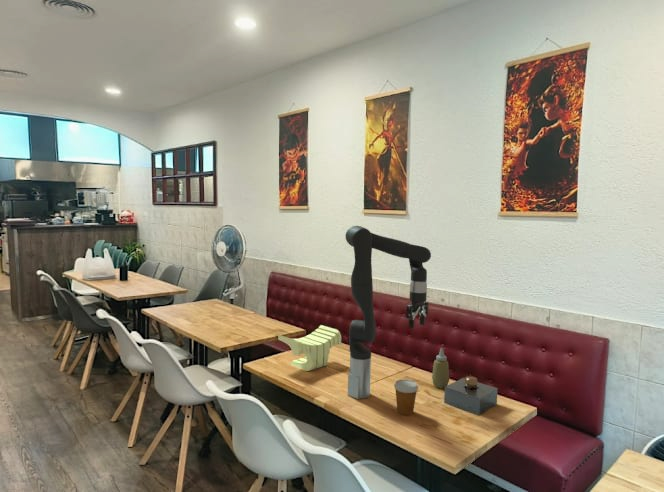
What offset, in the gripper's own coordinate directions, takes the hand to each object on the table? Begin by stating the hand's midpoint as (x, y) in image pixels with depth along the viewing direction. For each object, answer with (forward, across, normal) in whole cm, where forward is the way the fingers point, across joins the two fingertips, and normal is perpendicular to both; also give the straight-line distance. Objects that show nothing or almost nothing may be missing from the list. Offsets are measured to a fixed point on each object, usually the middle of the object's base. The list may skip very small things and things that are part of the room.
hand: (416, 326), depth 197 cm
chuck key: (+30, +7, -24) cm, 39 cm away
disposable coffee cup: (+30, -21, -10) cm, 38 cm away
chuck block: (+30, +7, -24) cm, 39 cm away
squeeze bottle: (+30, +14, -5) cm, 34 cm away
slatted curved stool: (+30, -14, +56) cm, 65 cm away
